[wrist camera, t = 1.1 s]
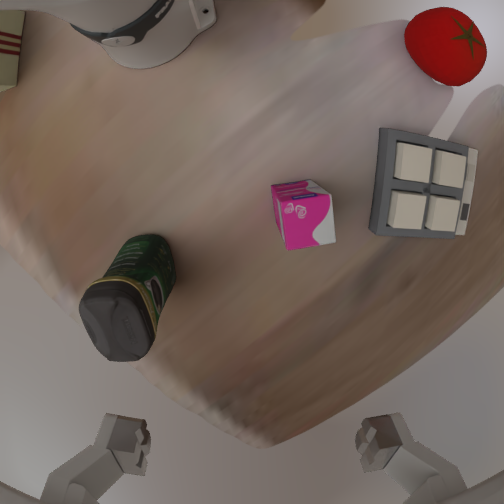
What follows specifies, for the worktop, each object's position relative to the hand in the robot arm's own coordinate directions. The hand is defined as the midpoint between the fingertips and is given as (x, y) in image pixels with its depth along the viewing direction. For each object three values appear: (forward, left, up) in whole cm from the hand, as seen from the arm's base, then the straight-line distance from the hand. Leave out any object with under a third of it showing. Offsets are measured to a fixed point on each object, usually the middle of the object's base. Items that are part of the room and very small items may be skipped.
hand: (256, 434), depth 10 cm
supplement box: (0, +7, -36) cm, 37 cm away
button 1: (-1, +31, -34) cm, 46 cm away
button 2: (-8, +31, -34) cm, 47 cm away
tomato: (-26, +27, -36) cm, 53 cm away
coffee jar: (+10, -14, -36) cm, 40 cm away
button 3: (-1, +24, -34) cm, 42 cm away
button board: (-4, +30, -36) cm, 47 cm away
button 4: (-8, +24, -34) cm, 42 cm away
